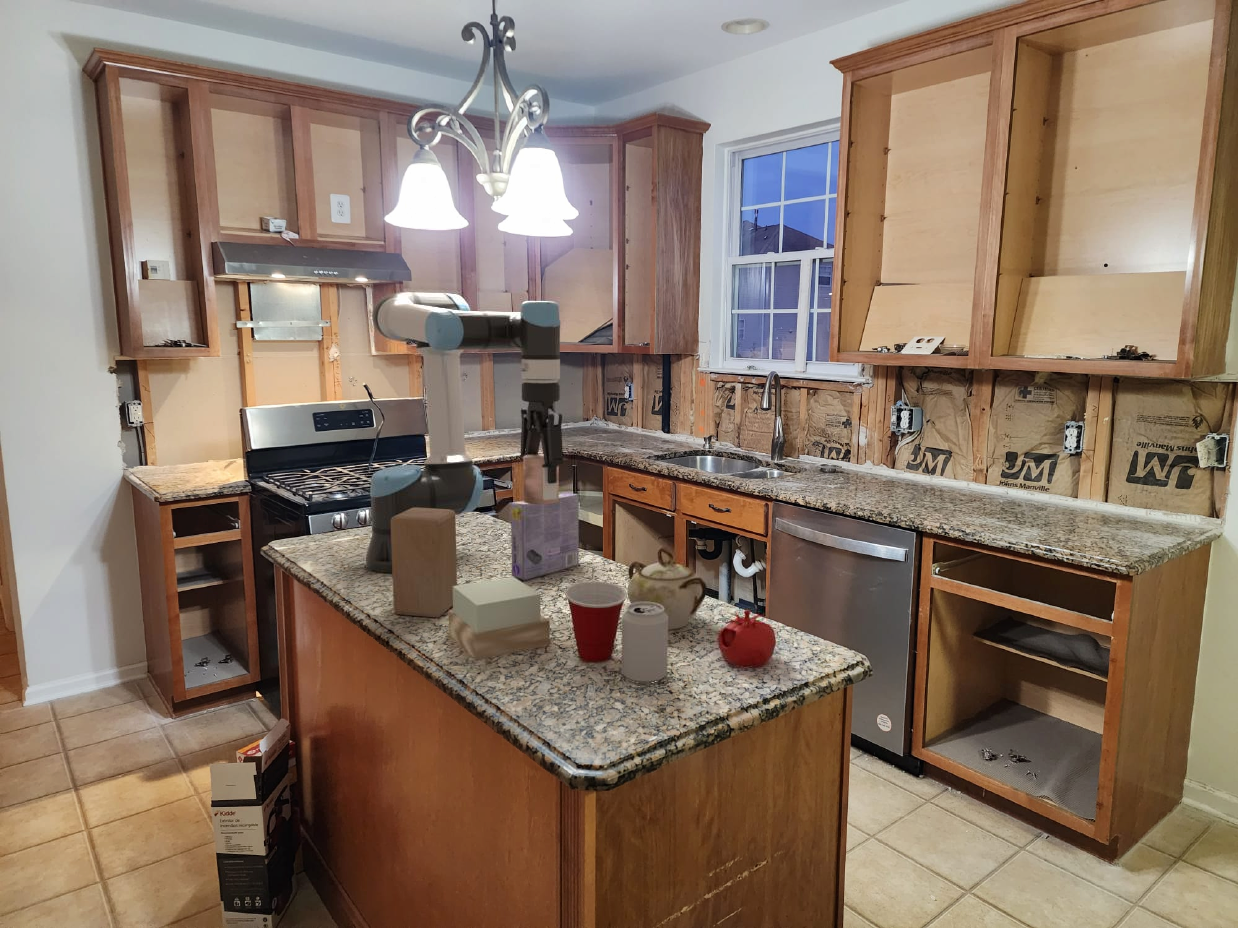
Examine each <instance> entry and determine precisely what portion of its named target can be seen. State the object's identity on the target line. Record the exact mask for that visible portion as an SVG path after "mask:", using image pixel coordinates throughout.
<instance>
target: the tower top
mask: <svg viewBox="0 0 1238 928" xmlns="http://www.w3.org/2000/svg"><path fill="white" fill-rule="evenodd" d="M541 609H542V608H541V593H539V592H537V591H536V590H535V589H533V588H532V587H531V586H528V585H526V583H523V582H522V580H520V579H519V578H516V577H513V576H509V577H503V578H495V579H490V580H483V581H477V582H470V583H465V584H457V586H453V606H452V610H453V613H455V614H456V615H457V616H458V617H459V618H460V619H462V620H463V621H464V622H465V623H466V624H467V625H468V626H470V627H471V628H472V629H473V630H474V631H475V632H477V633H481V632H486V631H491V630H496V629H502V628H507V627H512V626H517V625H522V624H528V623H533V622H538V621H541V615H542V614H541V612H542V611H541Z"/></svg>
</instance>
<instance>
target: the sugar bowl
mask: <svg viewBox="0 0 1238 928" xmlns="http://www.w3.org/2000/svg"><path fill="white" fill-rule="evenodd" d="M662 553H664V554H665V555H667V557H668V559H669V560H663V556H662V555H663V554H662ZM657 558H658V562H655V563H652V564H651V563H650V564H649V565H646V564H645V563H642V562H638V561H633V562H631V563H630V565H629V567H628V572H627V573H628V578H629V582H628V584H627V590H626V592H627V598H628V600H629V602H630V604H632V603H635V602H654V603H658V604H660V605H662V606H663V607H664V608H665V610H664V612H665V613H666V614H667V616H668V631H670V630H671V631H673V630H679V629H682V628H684V627H686V626H687V625H688V623H689V622H690V620H691V619H692V618H694V616H695V614H696V613H697V611H698V610H699V609H700V607H701V606H702V603H703V602H704V600H705V599H706V596H707V592H708V591H707V590H708V588H707V584H706V583H705V581H704V579H703V578H702V577H699V575H697V574H696V573H695V570H693V569H692V568H691V567H688V566H684V565H682V564H678V563H676V562H675V560H674V555H673V554H672V552H671V551H670V550H669V549H668V548H666V547H661V548H660V549H659V550H658V551H657ZM634 569H635V570H634Z"/></svg>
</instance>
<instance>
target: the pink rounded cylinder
mask: <svg viewBox="0 0 1238 928" xmlns="http://www.w3.org/2000/svg"><path fill="white" fill-rule="evenodd" d="M522 458H523V461H522V462H523V501H524V502H526V503H529V504H552V503H556V502H558V501H559V495H560V488H559V486H560V483H559V481H560V480H559V478H560V477H559V472H560V471H559V469H560V467H559V466H560V465H559V466H557V499H550V500H543V467H542V465H543V464H545V461H544V455H543V453H538V454H531V455H526V456H522Z"/></svg>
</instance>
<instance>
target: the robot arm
mask: <svg viewBox="0 0 1238 928" xmlns="http://www.w3.org/2000/svg"><path fill="white" fill-rule="evenodd" d="M371 319H372V323H373V326H374V328H375V330H376V331H377V332H378V333H379V334H380V335H381V336H383V337H385V338H387V339H388V340H392V341H397V342H407V343H408V342H409V343H416V351H417V352H418V353H419V354H420V355H421V356H422V357H423V369H424V384H425V398H426V411H427V412H426V413H427V428H428V442H429V443H428V444H429V445H428V446H429V456H428V458H427V459H426V460H425V461H424V463H423V464H424V470H422V469H421V467H420V466H419V465H416V464H405V465H395V466H390V467H386V468H383V469H380V470H378V471H377V472H375V473H373V475H372V476H371V478H370V491H369V496H370V505H371V506H370V509H371V512H370V513H371V536H370V537H371V538H370V541H369V545H368V547H367V551H366V555H365V568H366V569H368V570H370V571H372V572H378V573H387V574H388V573H389V574H390V573H391V574H392V546H391V519H392V517H394V516H396V515H398V514H400V513H402V512H404V511H407V510H409V509H411V508H414V507H416V508H433V509H450V510H453V511H455V516H458V515H461V514H467V513H470V512H473V511H474V510H475V509H476V508H477V507H478V506H479V505H480V502H481V500H482V497H483V491H484V479H483V475H482V472H481V470H480V468H479V467H478V466H477V465H474V464H473V459H472V457H471V456H469V454H467V452H466V442H465V441H466V440H465V438H466V437H465V425H464V423H465V422H464V421H465V420H464V409H463V407H464V406H463V395H462V394H463V392H462V376H461V360H460V359H461V358H460V356H461V354H462V353H463V352H464V351H466V350H467V351H469V350H480V351H481V350H484V351H486V350H487V351H488V350H491V351H492V350H494V351H495V350H498V351H500V350H501V351H502V350H503V351H506V350H507V351H509V350H511V351H515V350H516V351H517V350H518V351H520V350H521V351H520V353H521V356H520V358H521V364H520V365H519V368H520V370H521V379H523V380H524V381H523V382H522V383H521V400H522V401H523V402H528V405H527V408H521V409H520V415H521V427H520V428H521V429H520V432H521V433H520V451H519V453H520V456H521V457H524V456H526V455H531V454H539V450H540V445H541V448H542V454H543V455H544V461H545V464H543V465H542V467H543V500H550V499H557V466H560V465H563V464H564V451H563V449H564V447H563V435H562V433H563V432H562V423H563V414H562V413H556V411H555V408H554V403H555V402H559V400H560V399H561V384H560V383H559V382H558V380H561V359H560V356H561V354H560V349H561V347H560V345H561V324H562V323H561V320H560V306H559V304H558V303H557V302H555V301H548V300H546V301H544V300H536V301H535V300H527V301H524V302H522V303H521V306H520V312H518V311H517V312H515V311H509V312H508V311H471V308H470V305H469V304H468V303H467V302H466V300H465V298H463V297H462V296H460V294H453V293H447V292H415V291H414V292H413V291H412V292H410V291H398V292H393V293H390V294H387V295H385V296H383V297H381V298H380V299H379V300H378V301H377V302H376V304H375V305H374V307H373V311H372V315H371Z"/></svg>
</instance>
